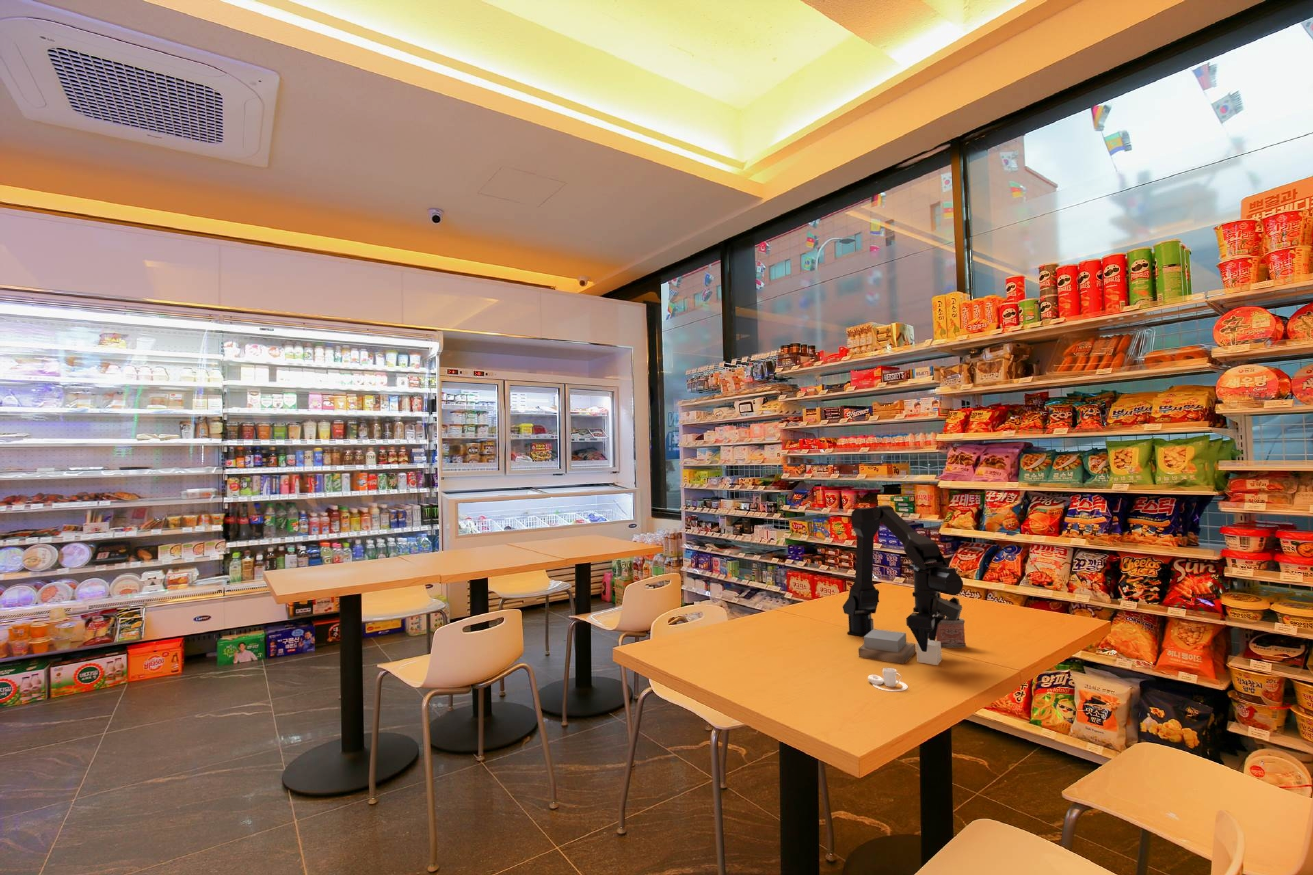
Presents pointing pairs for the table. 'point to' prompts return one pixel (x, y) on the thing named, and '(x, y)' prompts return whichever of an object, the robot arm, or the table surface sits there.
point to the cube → (930, 653)
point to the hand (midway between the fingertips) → (928, 646)
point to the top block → (885, 640)
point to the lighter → (951, 633)
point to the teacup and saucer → (887, 679)
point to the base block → (889, 654)
